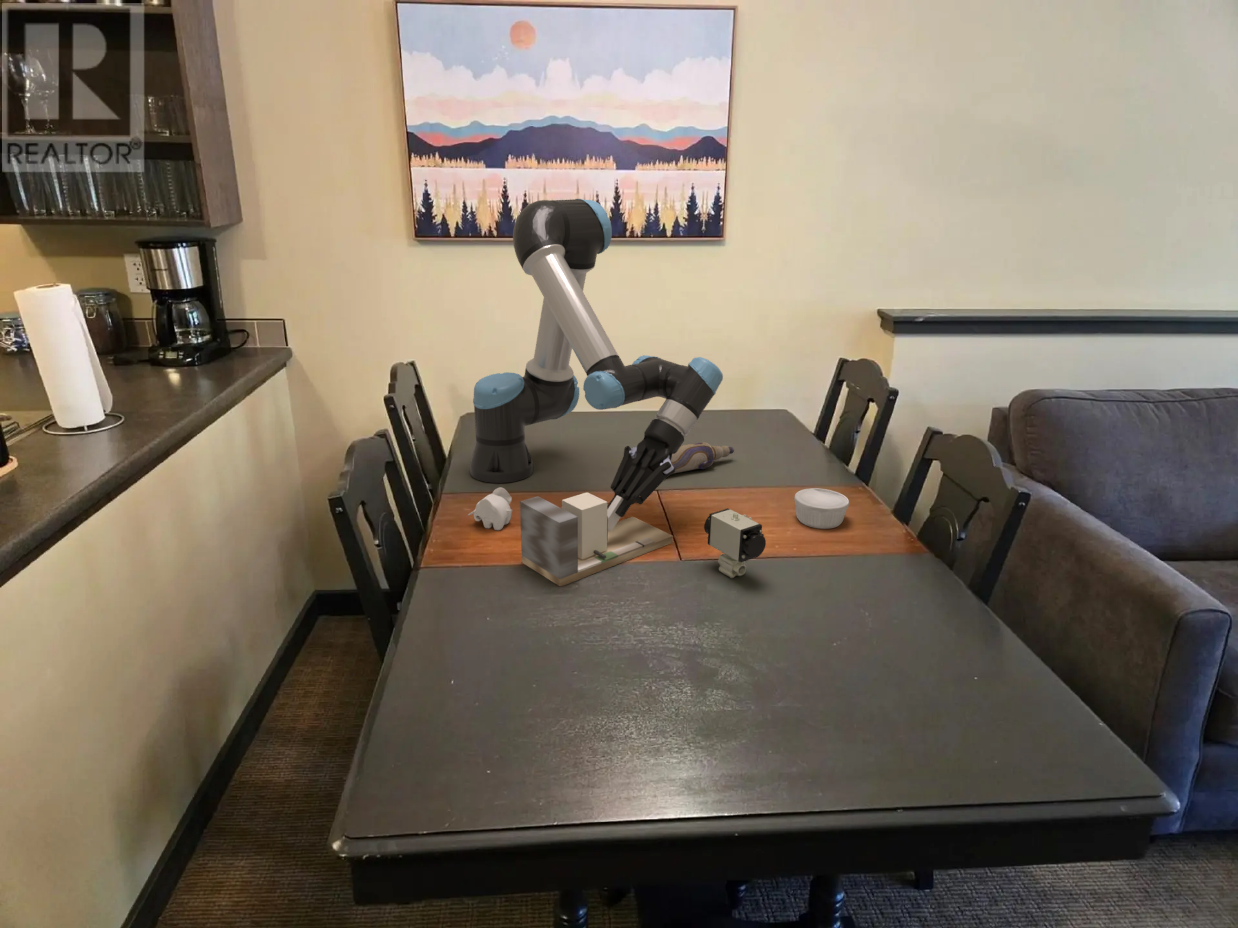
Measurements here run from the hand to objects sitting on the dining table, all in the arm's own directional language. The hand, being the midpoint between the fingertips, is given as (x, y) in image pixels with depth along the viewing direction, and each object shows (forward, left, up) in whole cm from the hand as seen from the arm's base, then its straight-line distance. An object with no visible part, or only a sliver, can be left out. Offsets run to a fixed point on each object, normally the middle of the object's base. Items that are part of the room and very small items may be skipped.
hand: (604, 527), depth 156 cm
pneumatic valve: (+22, +13, -5) cm, 26 cm away
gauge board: (0, -1, -5) cm, 5 cm away
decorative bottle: (-20, +44, -5) cm, 49 cm away
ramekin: (+18, +45, -5) cm, 49 cm away
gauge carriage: (+1, -5, -3) cm, 6 cm away
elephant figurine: (-24, -10, -5) cm, 27 cm away
